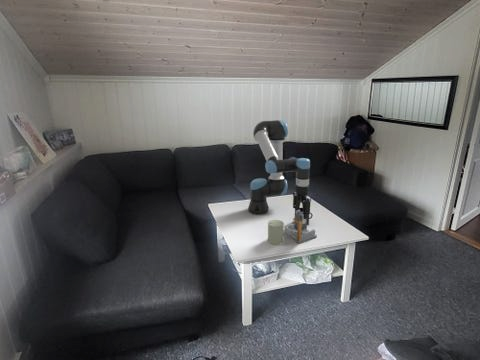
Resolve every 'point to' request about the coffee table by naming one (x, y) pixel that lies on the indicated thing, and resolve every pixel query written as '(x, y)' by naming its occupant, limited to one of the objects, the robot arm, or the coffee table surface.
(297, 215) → the dark gray box
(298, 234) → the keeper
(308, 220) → the mug
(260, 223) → the coffee table surface
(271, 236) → the can
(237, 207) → the coffee table surface
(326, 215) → the coffee table surface
